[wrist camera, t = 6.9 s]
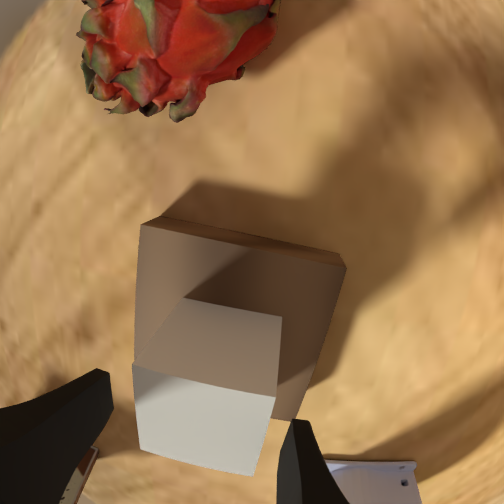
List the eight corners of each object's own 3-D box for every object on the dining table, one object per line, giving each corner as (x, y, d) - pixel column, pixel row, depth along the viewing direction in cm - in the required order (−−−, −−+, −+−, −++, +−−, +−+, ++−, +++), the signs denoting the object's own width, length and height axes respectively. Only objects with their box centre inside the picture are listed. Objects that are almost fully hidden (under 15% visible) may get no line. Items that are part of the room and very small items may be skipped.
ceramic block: (282, 316, 16) (275, 397, 10) (265, 393, 17) (252, 476, 11) (182, 297, 16) (131, 364, 10) (178, 374, 17) (140, 449, 12)
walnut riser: (337, 251, 17) (346, 268, 15) (294, 391, 20) (293, 422, 17) (163, 214, 18) (140, 224, 15) (152, 357, 21) (134, 382, 18)
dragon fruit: (140, 132, 18) (251, -6, 16) (221, 187, 13) (362, 1, 12) (26, 67, 11) (172, -89, 9) (39, 81, 6) (281, -133, 5)
